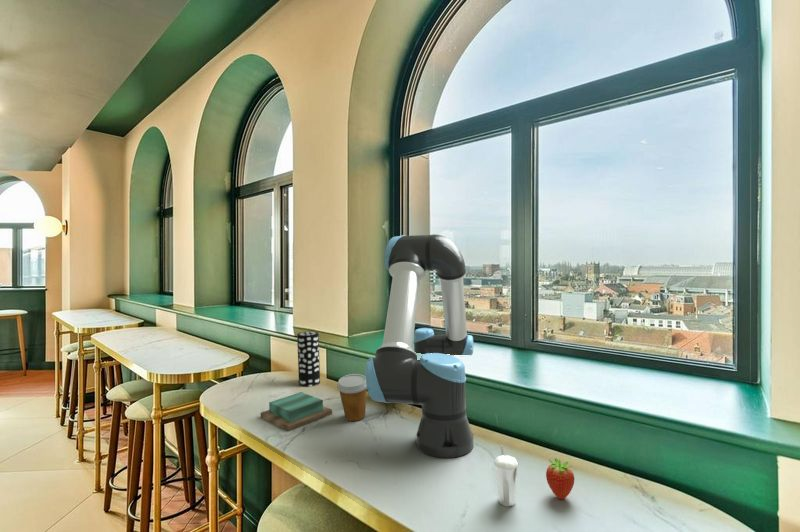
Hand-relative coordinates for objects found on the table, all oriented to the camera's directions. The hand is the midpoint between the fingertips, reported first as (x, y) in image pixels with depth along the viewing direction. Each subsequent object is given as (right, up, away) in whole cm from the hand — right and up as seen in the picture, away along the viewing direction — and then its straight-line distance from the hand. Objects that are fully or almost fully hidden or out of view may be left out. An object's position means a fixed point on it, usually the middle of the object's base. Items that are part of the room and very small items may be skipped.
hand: (363, 393), depth 130 cm
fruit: (+45, -7, -47) cm, 65 cm away
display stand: (-21, -7, -1) cm, 23 cm away
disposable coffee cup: (-2, -6, -3) cm, 7 cm away
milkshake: (+33, -7, -47) cm, 58 cm away
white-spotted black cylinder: (-24, -6, +32) cm, 41 cm away
